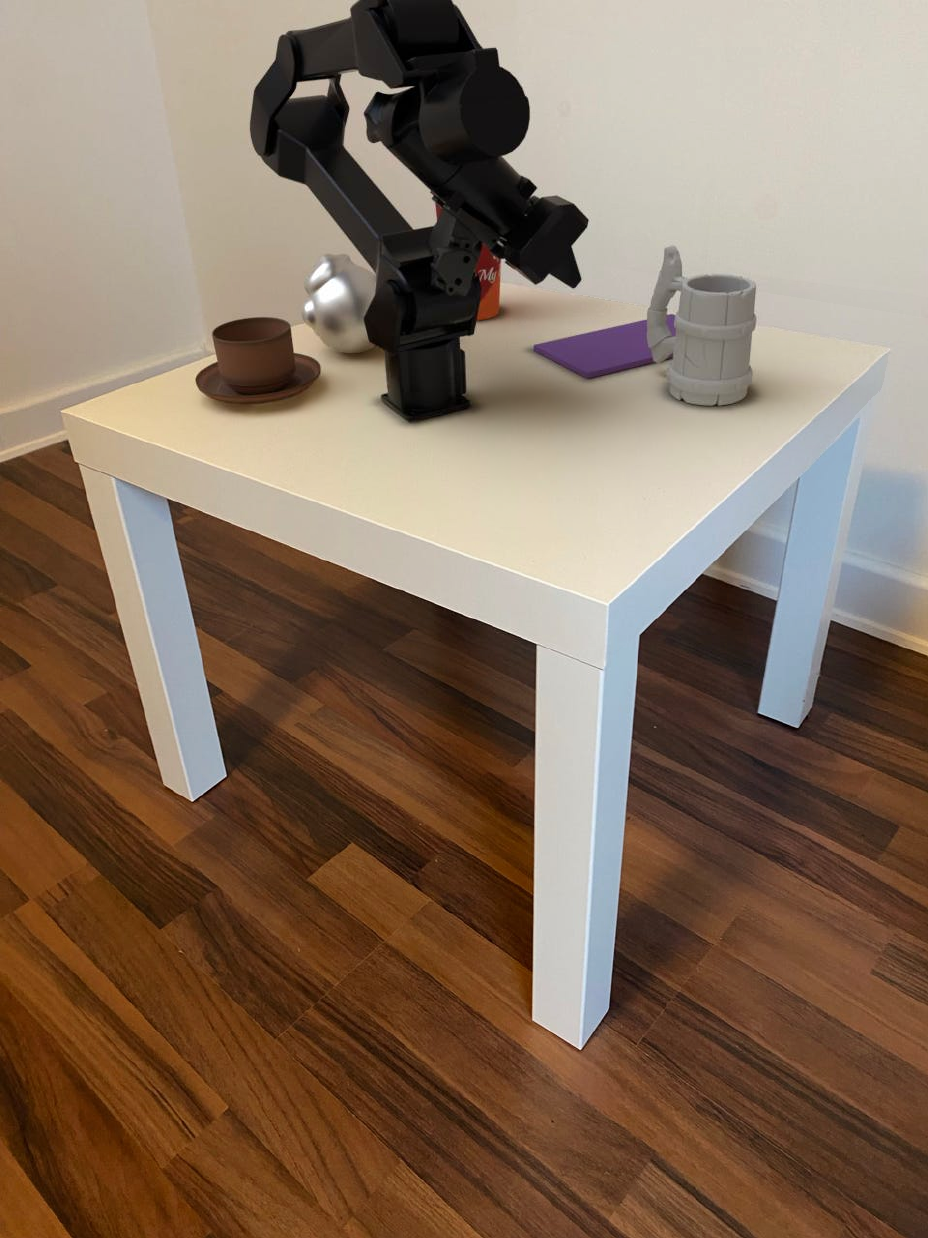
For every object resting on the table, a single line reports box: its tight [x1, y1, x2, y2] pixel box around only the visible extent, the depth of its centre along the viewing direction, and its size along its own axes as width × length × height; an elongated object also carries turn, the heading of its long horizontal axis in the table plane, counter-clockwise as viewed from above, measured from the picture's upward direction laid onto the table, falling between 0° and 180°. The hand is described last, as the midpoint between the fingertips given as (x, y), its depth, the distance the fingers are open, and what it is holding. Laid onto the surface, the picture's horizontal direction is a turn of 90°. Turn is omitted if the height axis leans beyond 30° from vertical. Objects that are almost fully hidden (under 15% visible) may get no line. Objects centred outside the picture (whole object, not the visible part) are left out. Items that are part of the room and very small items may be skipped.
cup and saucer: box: [194, 316, 322, 406], centre depth 94 cm, size 12×12×6 cm
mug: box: [646, 244, 757, 407], centre depth 89 cm, size 8×12×12 cm, turn 36°
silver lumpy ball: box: [301, 253, 376, 354], centre depth 101 cm, size 9×10×10 cm
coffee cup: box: [434, 202, 502, 322], centre depth 109 cm, size 8×8×15 cm
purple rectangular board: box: [533, 313, 676, 380], centre depth 101 cm, size 18×10×1 cm, turn 118°
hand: (576, 283), depth 86 cm, fingers closed
